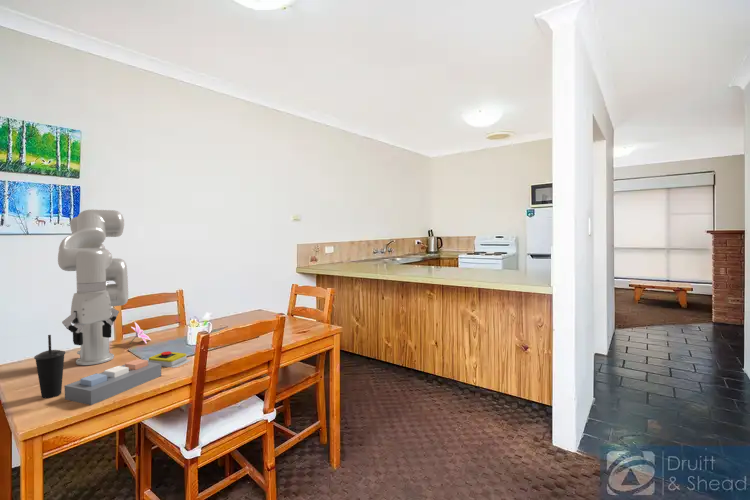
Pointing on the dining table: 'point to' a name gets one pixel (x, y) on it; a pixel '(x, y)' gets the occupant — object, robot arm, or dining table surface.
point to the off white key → (116, 371)
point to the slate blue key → (93, 379)
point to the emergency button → (169, 359)
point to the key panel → (111, 385)
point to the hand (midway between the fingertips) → (93, 340)
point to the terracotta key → (136, 364)
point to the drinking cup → (50, 371)
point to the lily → (140, 333)
